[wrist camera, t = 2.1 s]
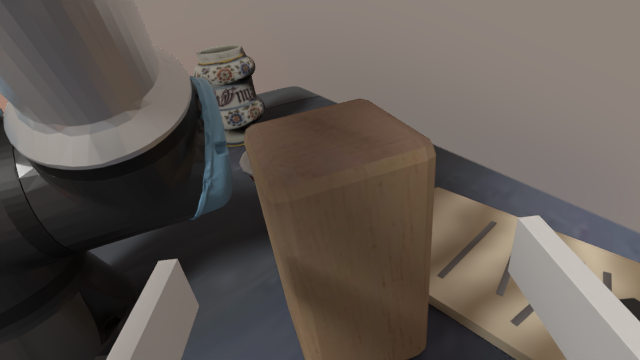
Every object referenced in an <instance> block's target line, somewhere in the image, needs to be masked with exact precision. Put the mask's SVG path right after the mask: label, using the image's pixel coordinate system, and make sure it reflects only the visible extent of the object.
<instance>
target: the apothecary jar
mask: <svg viewBox="0 0 640 360" xmlns="http://www.w3.org/2000/svg"><path fill="white" fill-rule="evenodd" d="M197 57H198V65H197V66H196V67H195V69H194V73H193V74H194V75H193V76H194V77H196V78H198V77H201V78H205V79H206V80H208V81H209V83H210V84H211V86H212V88H213V91H214V94H215V96H216V99H217V102H218V106H219V109H220V113H221V117H222V121H223V125H224V129H226V130H227V131H226V132H225V137H226V146H229V147H235V146H242V145H245V144H244V136H245V130H246V129H247V128H249V127H250V126H252V125H251V124H253V123H255V122H256V121H258V120H259V119H260V118H261V117H262V115H263V114H264V111H265V105H264V103H263V101H262V100H261V99H260V98H259V97H257V96H256V93H255V90H254V85H253V81H252V76H251V75H252V74H253V73H254V71H255V63H254V61H253V60H252V59H251V58H250V57H248V56H246V55H245V52H244V51H243V48H242V46H241V45H224V46H218V47H212V48H208V49H204V50H201V51H199V52H198V53H197Z"/></svg>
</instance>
